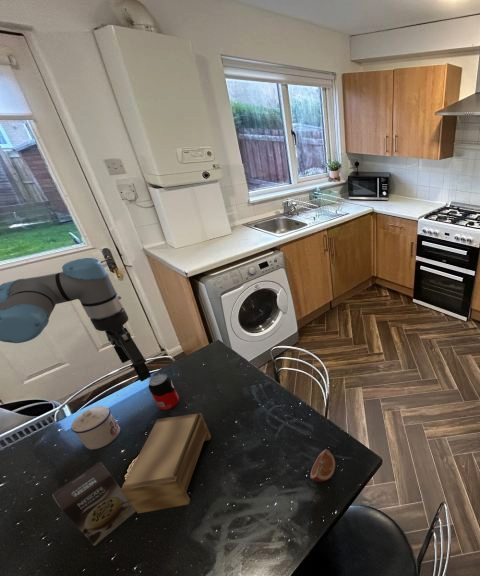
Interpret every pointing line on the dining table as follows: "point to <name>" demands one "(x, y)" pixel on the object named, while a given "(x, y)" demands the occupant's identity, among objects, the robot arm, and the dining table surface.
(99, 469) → the brown cardboard box
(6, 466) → the dining table surface
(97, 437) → the white round tub
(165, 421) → the tan boxy piece
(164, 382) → the beverage can
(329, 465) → the fruit slice
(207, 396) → the dining table surface
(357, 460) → the dining table surface
